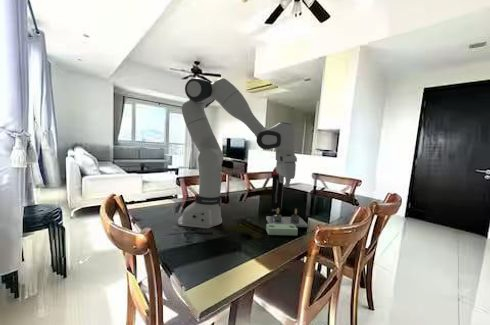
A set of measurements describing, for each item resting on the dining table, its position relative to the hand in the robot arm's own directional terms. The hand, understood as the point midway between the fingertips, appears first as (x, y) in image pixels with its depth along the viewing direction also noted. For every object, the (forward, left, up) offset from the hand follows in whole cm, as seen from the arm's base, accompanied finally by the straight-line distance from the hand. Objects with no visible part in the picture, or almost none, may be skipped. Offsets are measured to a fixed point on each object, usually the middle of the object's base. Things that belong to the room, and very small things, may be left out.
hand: (284, 184), depth 108 cm
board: (0, -3, -23) cm, 23 cm away
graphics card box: (+6, +33, -23) cm, 41 cm away
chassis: (+6, +10, -23) cm, 26 cm away
